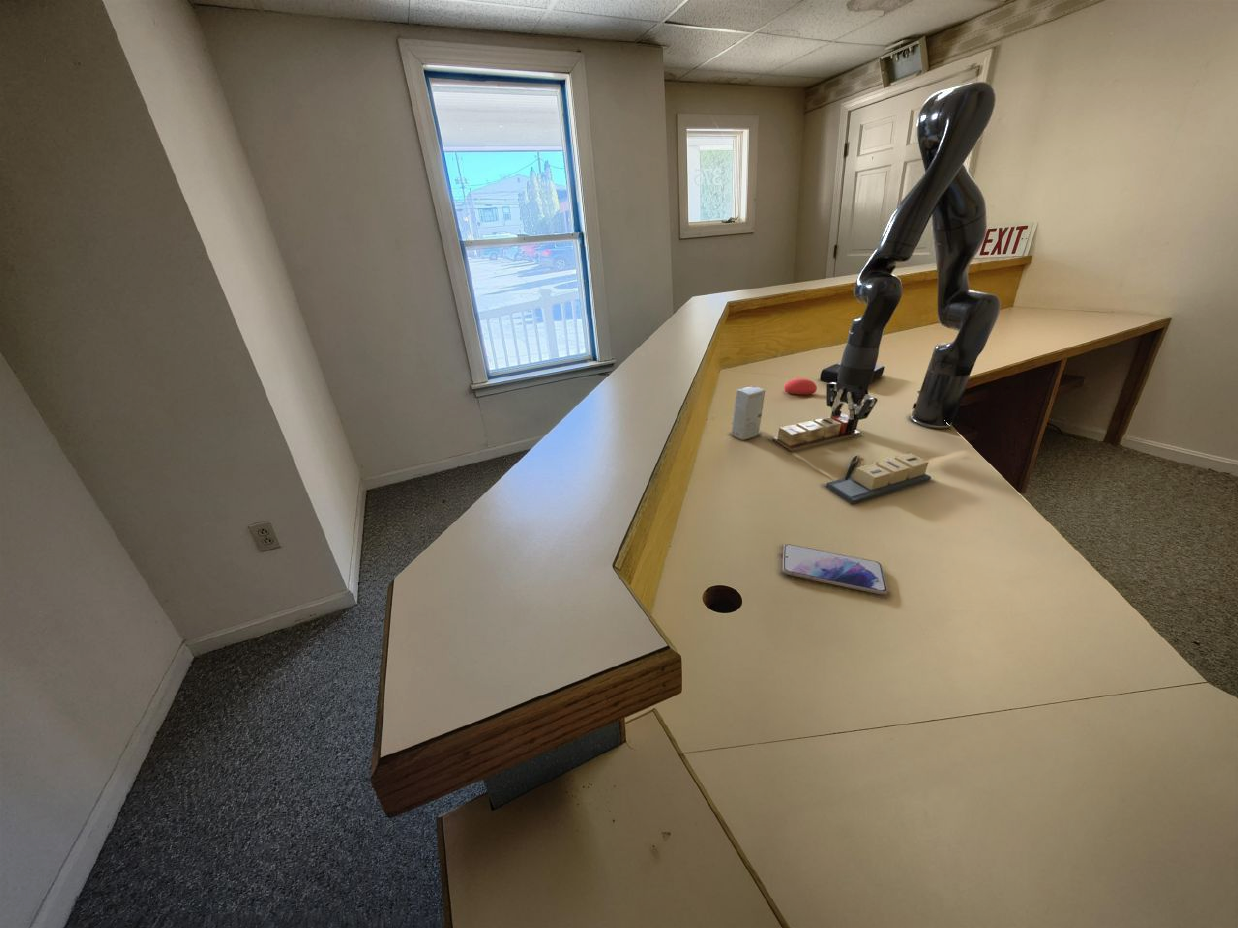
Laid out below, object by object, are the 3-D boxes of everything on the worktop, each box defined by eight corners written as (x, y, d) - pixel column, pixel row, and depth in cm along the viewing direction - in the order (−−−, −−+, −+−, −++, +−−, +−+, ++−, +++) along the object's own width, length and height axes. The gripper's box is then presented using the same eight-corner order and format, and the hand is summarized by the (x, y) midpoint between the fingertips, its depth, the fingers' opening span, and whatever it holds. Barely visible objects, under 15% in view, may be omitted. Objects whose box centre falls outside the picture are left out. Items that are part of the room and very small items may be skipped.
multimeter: (819, 380, 152) (822, 365, 149) (844, 368, 163) (847, 354, 160) (858, 390, 143) (862, 375, 141) (882, 376, 154) (887, 362, 152)
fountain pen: (846, 486, 94) (848, 480, 93) (840, 485, 95) (842, 479, 94) (859, 458, 104) (861, 453, 103) (854, 457, 105) (855, 451, 104)
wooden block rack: (900, 465, 102) (906, 449, 100) (929, 480, 96) (936, 464, 94) (825, 487, 94) (829, 470, 92) (852, 504, 89) (857, 486, 87)
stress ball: (809, 403, 138) (821, 385, 136) (782, 389, 139) (794, 371, 137) (807, 403, 142) (818, 385, 141) (781, 389, 144) (792, 371, 142)
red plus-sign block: (841, 423, 119) (844, 413, 118) (855, 430, 115) (858, 419, 114) (828, 426, 118) (830, 415, 116) (841, 433, 114) (844, 422, 112)
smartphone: (888, 593, 67) (782, 570, 72) (886, 597, 68) (781, 575, 72) (881, 561, 73) (784, 542, 77) (879, 565, 73) (783, 546, 78)
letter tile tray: (838, 425, 121) (841, 411, 119) (859, 435, 115) (863, 421, 113) (771, 440, 113) (774, 425, 111) (790, 452, 108) (794, 436, 106)
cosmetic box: (743, 440, 113) (749, 395, 107) (730, 434, 117) (735, 389, 111) (760, 434, 116) (767, 389, 110) (746, 428, 120) (753, 384, 114)
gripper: (896, 369, 103) (875, 436, 112) (846, 353, 115) (831, 415, 123) (871, 373, 101) (853, 442, 109) (823, 357, 112) (810, 420, 121)
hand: (841, 427), depth 116 cm, fingers closed on red plus-sign block, 4 cm apart
